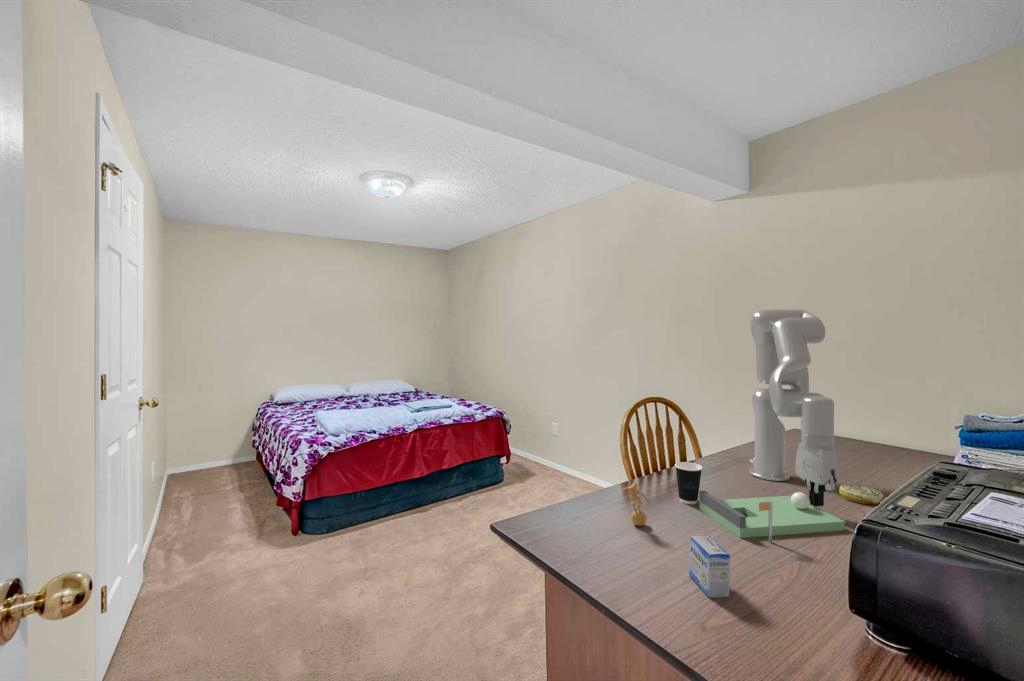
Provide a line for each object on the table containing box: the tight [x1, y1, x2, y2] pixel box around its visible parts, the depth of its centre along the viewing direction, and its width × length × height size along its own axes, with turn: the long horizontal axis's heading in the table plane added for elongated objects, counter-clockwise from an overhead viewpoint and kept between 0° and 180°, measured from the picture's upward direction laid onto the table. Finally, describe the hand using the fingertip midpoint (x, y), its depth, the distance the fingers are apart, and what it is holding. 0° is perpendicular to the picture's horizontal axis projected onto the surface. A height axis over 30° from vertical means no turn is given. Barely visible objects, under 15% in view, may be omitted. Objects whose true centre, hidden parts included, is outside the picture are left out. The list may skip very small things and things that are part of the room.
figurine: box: [621, 481, 651, 527], centre depth 116 cm, size 8×6×12 cm
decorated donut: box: [838, 483, 884, 506], centre depth 134 cm, size 10×11×4 cm
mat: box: [698, 490, 846, 539], centre depth 120 cm, size 18×30×5 cm, turn 98°
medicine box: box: [688, 535, 731, 599], centre depth 88 cm, size 8×4×9 cm, turn 5°
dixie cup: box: [674, 461, 703, 505], centre depth 133 cm, size 8×8×11 cm
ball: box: [790, 491, 810, 509], centre depth 121 cm, size 4×4×4 cm
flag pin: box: [759, 501, 773, 544], centre depth 107 cm, size 1×4×10 cm, turn 99°
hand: (816, 505), depth 122 cm, fingers closed
